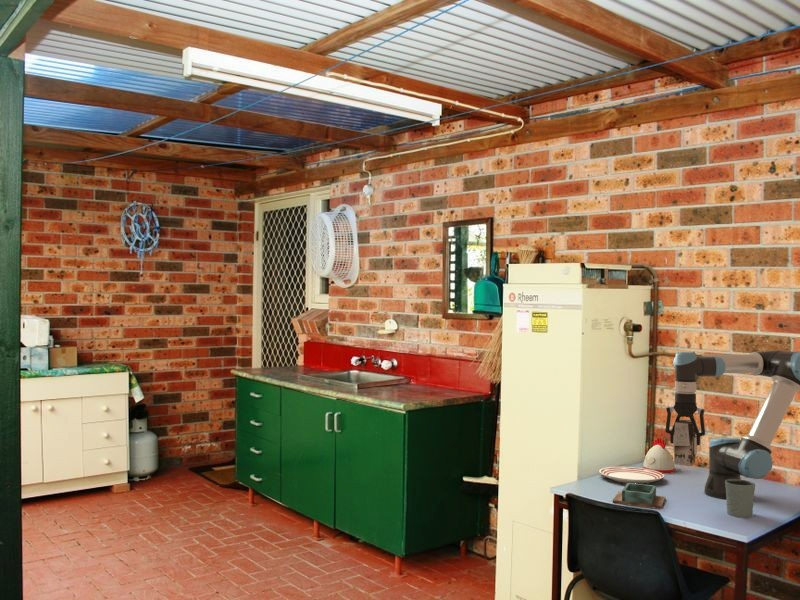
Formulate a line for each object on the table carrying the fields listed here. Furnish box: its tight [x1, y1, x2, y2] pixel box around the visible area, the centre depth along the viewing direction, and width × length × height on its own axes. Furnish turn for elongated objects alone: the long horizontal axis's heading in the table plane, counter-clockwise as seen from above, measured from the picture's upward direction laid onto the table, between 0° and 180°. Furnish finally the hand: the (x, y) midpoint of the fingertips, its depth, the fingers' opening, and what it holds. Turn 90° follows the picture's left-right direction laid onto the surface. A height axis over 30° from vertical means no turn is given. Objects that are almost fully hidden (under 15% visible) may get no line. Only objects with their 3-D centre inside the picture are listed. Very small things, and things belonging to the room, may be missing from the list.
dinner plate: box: [598, 466, 665, 485], centre depth 327 cm, size 27×27×3 cm
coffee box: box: [673, 419, 697, 467], centre depth 282 cm, size 9×6×16 cm
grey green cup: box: [725, 479, 756, 519], centre depth 273 cm, size 10×10×12 cm
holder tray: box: [612, 483, 666, 509], centre depth 291 cm, size 18×15×5 cm
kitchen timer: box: [642, 437, 676, 474], centre depth 344 cm, size 14×14×15 cm
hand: (685, 452), depth 282 cm, fingers closed on coffee box, 7 cm apart
